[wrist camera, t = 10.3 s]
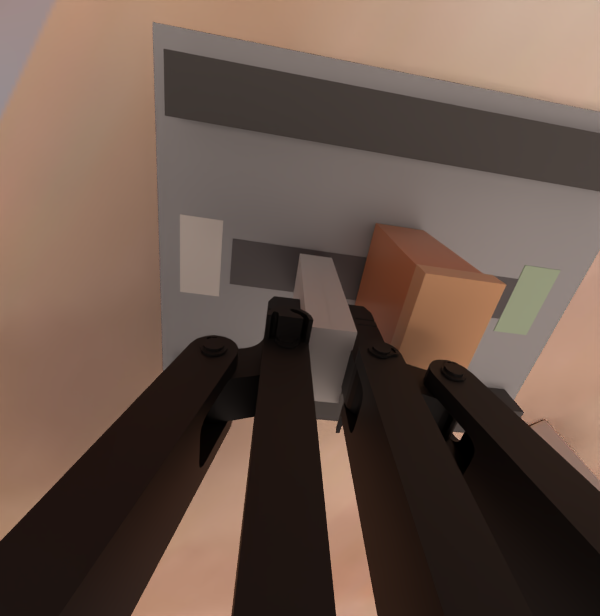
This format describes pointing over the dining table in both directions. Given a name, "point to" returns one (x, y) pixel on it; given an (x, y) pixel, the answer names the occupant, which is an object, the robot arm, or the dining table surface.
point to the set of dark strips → (378, 130)
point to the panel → (354, 212)
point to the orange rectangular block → (426, 296)
